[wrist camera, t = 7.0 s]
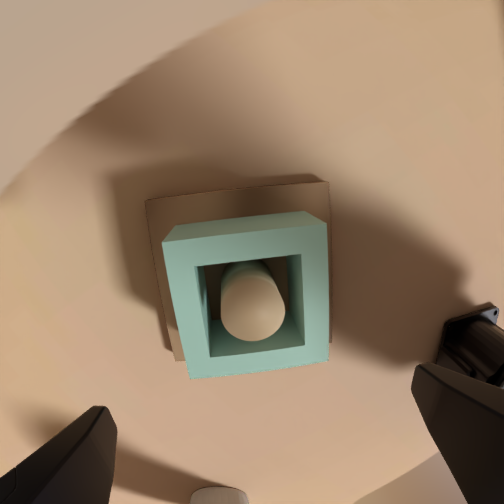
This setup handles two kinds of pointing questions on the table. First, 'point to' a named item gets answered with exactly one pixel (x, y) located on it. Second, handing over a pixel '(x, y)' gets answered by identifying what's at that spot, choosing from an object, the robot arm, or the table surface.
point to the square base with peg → (241, 272)
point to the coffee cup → (219, 496)
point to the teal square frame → (241, 249)
